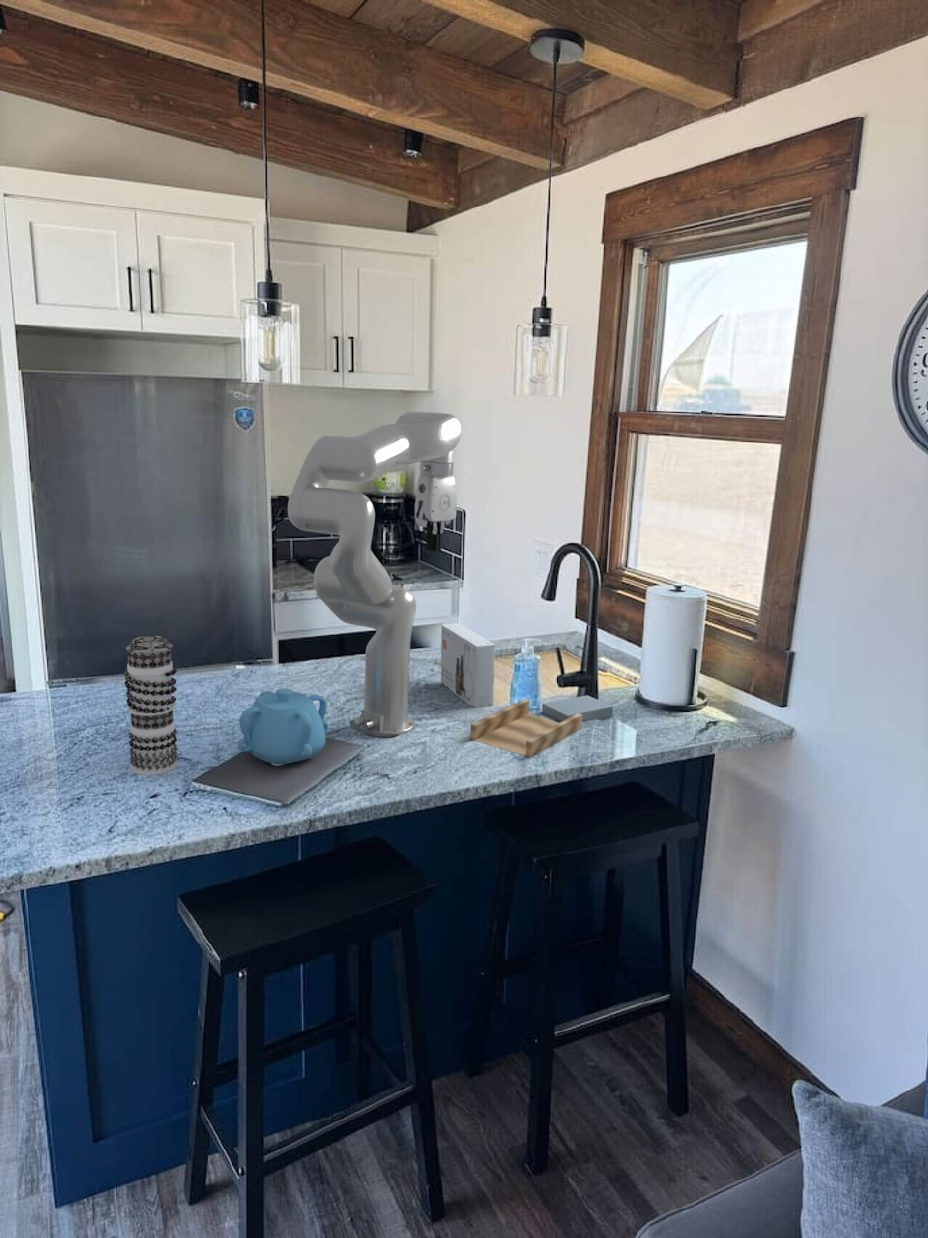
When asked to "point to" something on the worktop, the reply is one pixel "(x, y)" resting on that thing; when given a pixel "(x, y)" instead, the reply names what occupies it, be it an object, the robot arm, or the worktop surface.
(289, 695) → the decorative pot
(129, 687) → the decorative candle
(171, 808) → the worktop surface
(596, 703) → the slate cover plate
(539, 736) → the wooden tray
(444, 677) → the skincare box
